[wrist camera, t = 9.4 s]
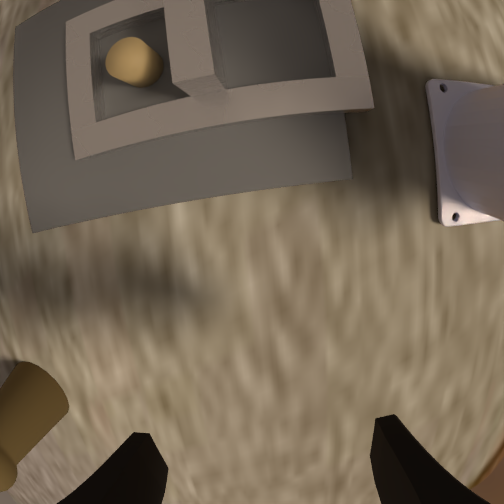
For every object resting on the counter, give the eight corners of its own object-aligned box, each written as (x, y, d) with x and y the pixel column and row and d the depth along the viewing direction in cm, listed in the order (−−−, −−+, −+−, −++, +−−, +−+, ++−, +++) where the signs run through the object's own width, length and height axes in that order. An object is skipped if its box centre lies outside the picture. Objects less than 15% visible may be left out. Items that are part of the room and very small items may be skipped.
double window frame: (334, -27, 11) (349, -69, 7) (366, 111, 13) (398, 98, 10) (76, 27, 12) (36, 6, 9) (87, 159, 15) (40, 163, 11)
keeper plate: (300, -53, 11) (305, -86, 8) (347, 177, 15) (366, 183, 12) (24, 30, 13) (-7, 19, 10) (42, 229, 17) (8, 243, 14)
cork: (4, 363, 21) (-66, 436, 10) (43, 358, 20) (-37, 449, 10) (39, 415, 22) (-16, 492, 12) (81, 417, 22) (24, 511, 11)
